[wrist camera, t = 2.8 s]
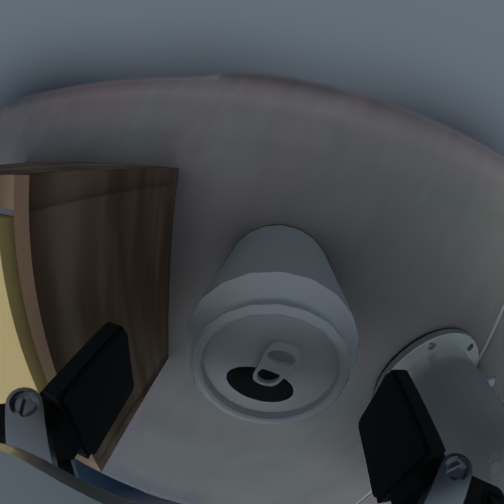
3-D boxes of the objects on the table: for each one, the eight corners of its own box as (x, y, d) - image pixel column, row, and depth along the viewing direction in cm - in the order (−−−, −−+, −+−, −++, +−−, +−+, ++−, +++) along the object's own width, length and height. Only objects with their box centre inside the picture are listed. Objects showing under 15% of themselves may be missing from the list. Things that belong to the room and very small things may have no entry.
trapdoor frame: (179, 157, 20) (31, 150, 6) (168, 363, 25) (104, 476, 11) (25, 155, 21) (-81, 168, 7) (35, 313, 26) (-40, 369, 13)
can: (215, 294, 22) (157, 400, 11) (250, 206, 20) (205, 252, 9) (300, 328, 22) (308, 449, 11) (343, 247, 20) (405, 333, 9)
